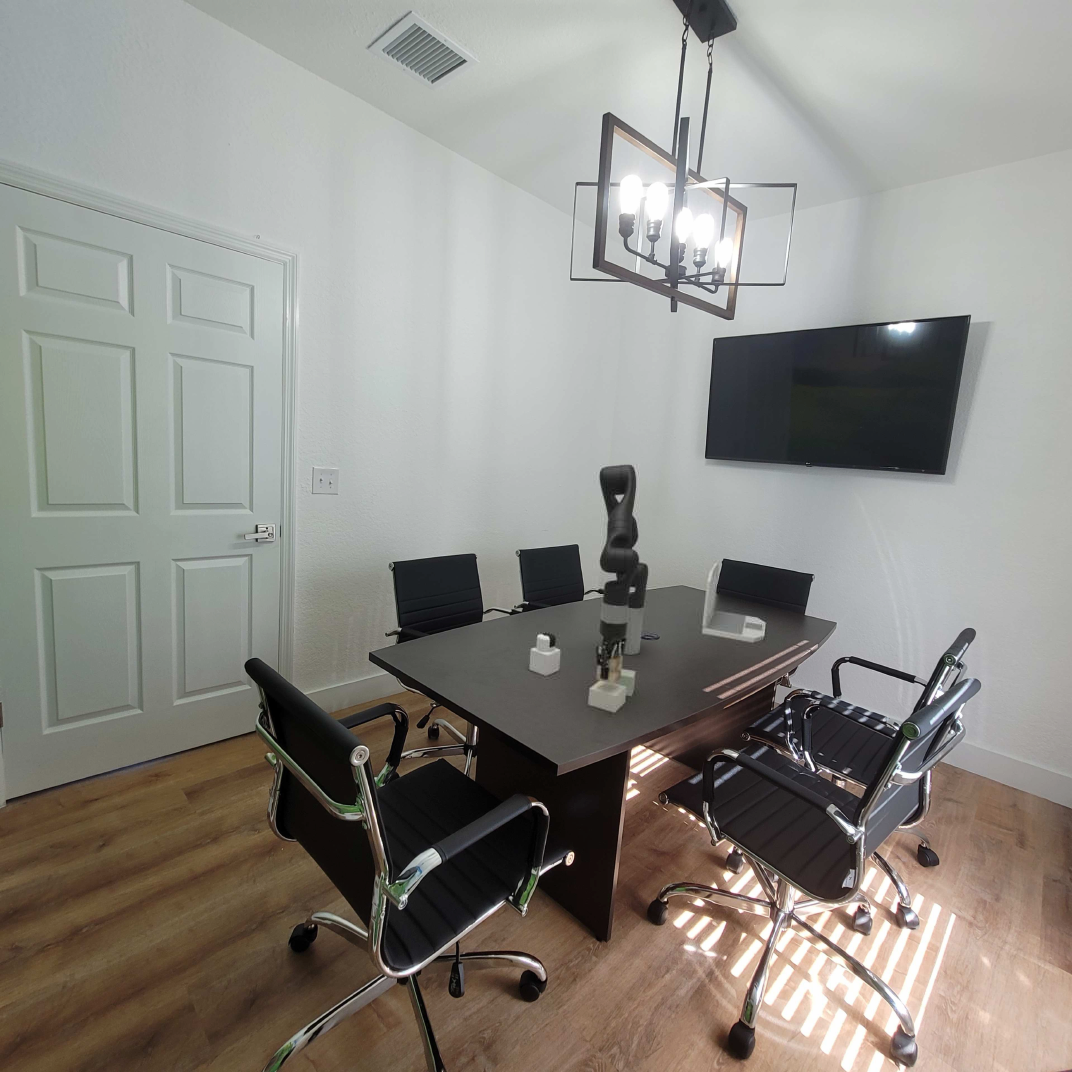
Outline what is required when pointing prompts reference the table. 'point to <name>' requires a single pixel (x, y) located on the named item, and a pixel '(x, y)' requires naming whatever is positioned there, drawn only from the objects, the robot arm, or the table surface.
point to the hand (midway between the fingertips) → (608, 676)
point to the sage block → (627, 681)
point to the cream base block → (607, 696)
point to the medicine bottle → (545, 655)
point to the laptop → (728, 617)
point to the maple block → (612, 669)
